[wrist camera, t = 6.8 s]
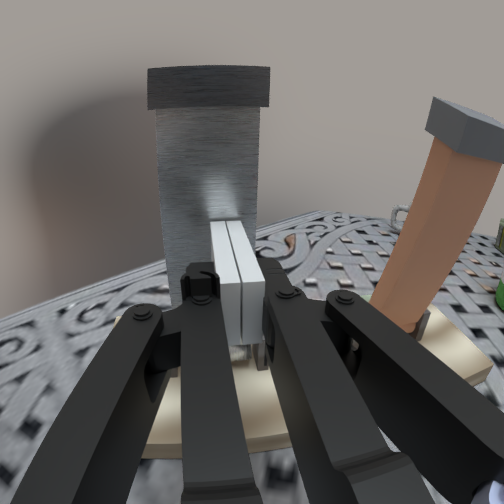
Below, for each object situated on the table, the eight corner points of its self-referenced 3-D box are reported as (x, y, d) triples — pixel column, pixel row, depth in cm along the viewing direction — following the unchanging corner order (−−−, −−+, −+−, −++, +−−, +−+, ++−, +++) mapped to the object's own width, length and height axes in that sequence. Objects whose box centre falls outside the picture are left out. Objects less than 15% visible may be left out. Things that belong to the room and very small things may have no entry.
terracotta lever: (413, 340, 24) (522, 137, 12) (359, 352, 23) (468, 115, 11) (400, 315, 26) (492, 117, 14) (348, 325, 25) (433, 96, 13)
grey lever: (256, 368, 21) (270, 66, 13) (178, 374, 20) (147, 68, 12) (250, 342, 24) (258, 71, 15) (178, 347, 23) (155, 73, 14)
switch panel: (484, 380, 20) (507, 337, 18) (95, 455, 15) (66, 411, 13) (411, 304, 33) (422, 266, 31) (121, 332, 28) (110, 288, 26)
